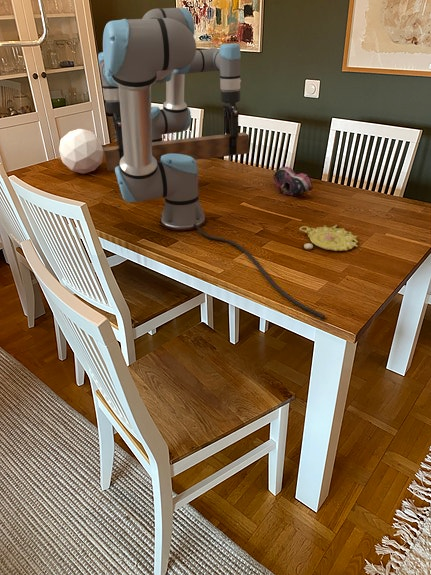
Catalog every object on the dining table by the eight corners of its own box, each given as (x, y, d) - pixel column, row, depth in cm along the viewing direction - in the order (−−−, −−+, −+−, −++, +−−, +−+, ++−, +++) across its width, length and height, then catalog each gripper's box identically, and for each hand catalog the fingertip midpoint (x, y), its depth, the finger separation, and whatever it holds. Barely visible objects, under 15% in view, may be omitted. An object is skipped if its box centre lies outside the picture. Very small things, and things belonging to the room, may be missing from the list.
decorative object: (343, 255, 128) (285, 234, 139) (342, 262, 130) (284, 241, 140) (372, 230, 142) (317, 213, 152) (371, 237, 143) (316, 219, 153)
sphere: (90, 188, 207) (76, 163, 188) (59, 168, 212) (42, 141, 193) (116, 160, 212) (105, 132, 193) (86, 141, 216) (72, 112, 198)
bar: (107, 170, 168) (104, 150, 164) (106, 166, 172) (103, 147, 168) (248, 153, 179) (248, 134, 175) (244, 150, 183) (244, 132, 179)
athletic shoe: (283, 166, 186) (259, 173, 182) (313, 160, 166) (287, 167, 162) (289, 193, 189) (265, 200, 185) (319, 190, 169) (293, 198, 165)
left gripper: (247, 93, 160) (246, 157, 173) (233, 86, 175) (233, 145, 188) (227, 94, 159) (228, 159, 171) (214, 87, 174) (216, 147, 186)
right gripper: (128, 103, 152) (136, 170, 164) (123, 96, 167) (131, 157, 179) (106, 105, 151) (116, 172, 163) (103, 97, 166) (112, 159, 178)
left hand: (231, 152), depth 180 cm, fingers closed on bar, 5 cm apart
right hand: (124, 164), depth 171 cm, fingers closed on bar, 5 cm apart
